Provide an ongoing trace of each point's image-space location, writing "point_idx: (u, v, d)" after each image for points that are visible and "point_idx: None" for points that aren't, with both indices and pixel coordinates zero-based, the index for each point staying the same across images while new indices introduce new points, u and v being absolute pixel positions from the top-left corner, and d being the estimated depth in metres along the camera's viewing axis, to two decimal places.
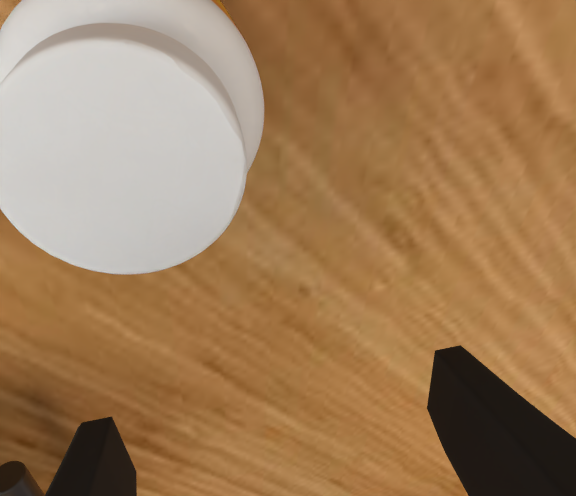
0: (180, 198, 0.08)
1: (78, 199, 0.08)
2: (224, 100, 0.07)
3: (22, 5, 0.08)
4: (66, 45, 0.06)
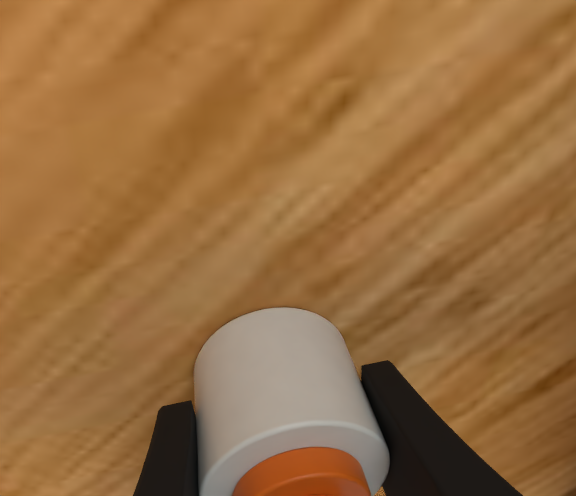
0: None
1: None
2: None
3: None
4: None
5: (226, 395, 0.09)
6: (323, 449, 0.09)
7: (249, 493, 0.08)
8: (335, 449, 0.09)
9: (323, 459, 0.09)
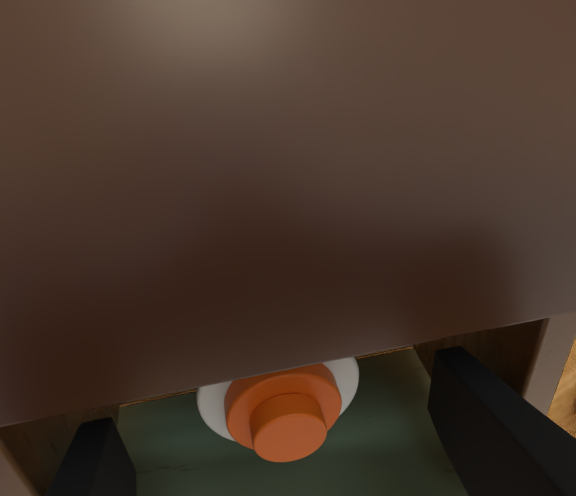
0: None
1: None
2: None
3: None
4: None
5: None
6: None
7: (238, 391, 0.10)
8: None
9: None
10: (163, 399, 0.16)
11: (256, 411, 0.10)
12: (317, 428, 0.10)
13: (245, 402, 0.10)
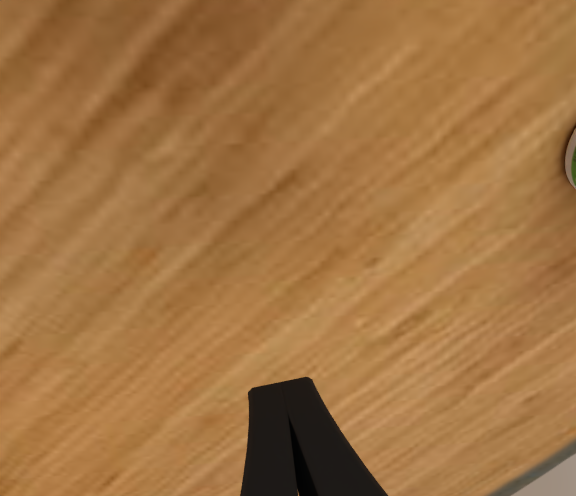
0: None
1: None
2: None
3: None
4: None
5: None
6: None
7: None
8: None
9: None
10: None
11: None
12: None
13: None
